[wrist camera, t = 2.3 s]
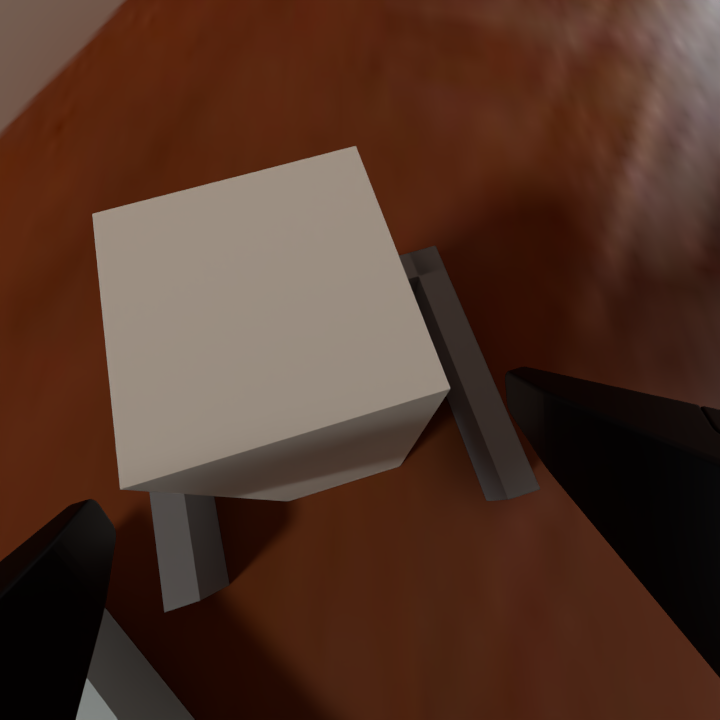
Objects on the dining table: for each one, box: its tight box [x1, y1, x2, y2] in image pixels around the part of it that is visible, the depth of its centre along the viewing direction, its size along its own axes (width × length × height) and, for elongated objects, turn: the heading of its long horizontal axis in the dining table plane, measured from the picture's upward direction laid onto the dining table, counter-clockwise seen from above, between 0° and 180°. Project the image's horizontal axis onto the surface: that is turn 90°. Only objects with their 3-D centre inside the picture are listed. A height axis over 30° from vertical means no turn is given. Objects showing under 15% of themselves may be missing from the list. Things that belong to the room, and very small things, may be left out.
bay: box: [149, 246, 540, 612], centre depth 17 cm, size 11×13×3 cm
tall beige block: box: [92, 146, 450, 501], centre depth 13 cm, size 6×5×12 cm
